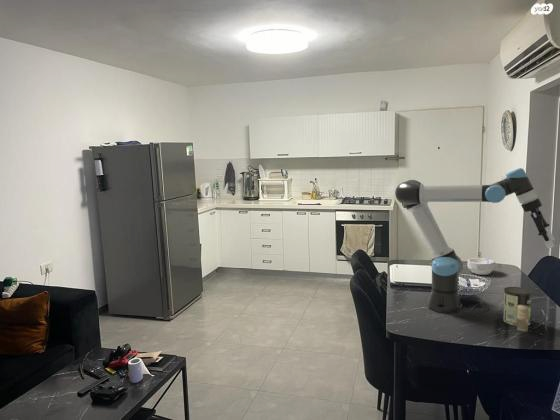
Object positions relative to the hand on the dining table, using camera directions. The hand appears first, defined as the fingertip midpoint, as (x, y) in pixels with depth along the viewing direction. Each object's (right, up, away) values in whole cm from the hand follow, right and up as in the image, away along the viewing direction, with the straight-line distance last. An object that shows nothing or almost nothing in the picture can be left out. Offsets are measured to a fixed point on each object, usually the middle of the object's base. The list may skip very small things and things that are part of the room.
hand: (551, 244), depth 184 cm
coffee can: (-19, -33, -6) cm, 39 cm away
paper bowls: (+2, -24, +68) cm, 72 cm away
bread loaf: (-21, -34, -14) cm, 43 cm away
